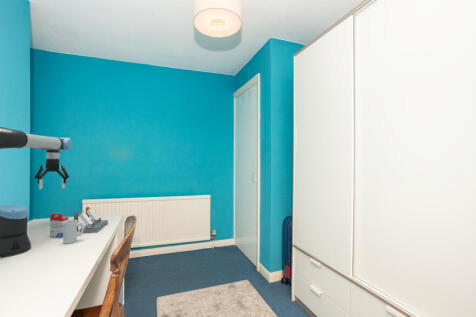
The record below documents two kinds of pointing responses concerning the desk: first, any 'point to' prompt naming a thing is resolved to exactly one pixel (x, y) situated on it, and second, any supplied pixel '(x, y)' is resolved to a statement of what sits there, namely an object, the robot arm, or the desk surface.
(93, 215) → the paddle
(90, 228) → the breaker panel
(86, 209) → the cable post right
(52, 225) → the ink box
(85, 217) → the paddle
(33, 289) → the desk surface
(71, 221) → the mug
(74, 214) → the cable post left
